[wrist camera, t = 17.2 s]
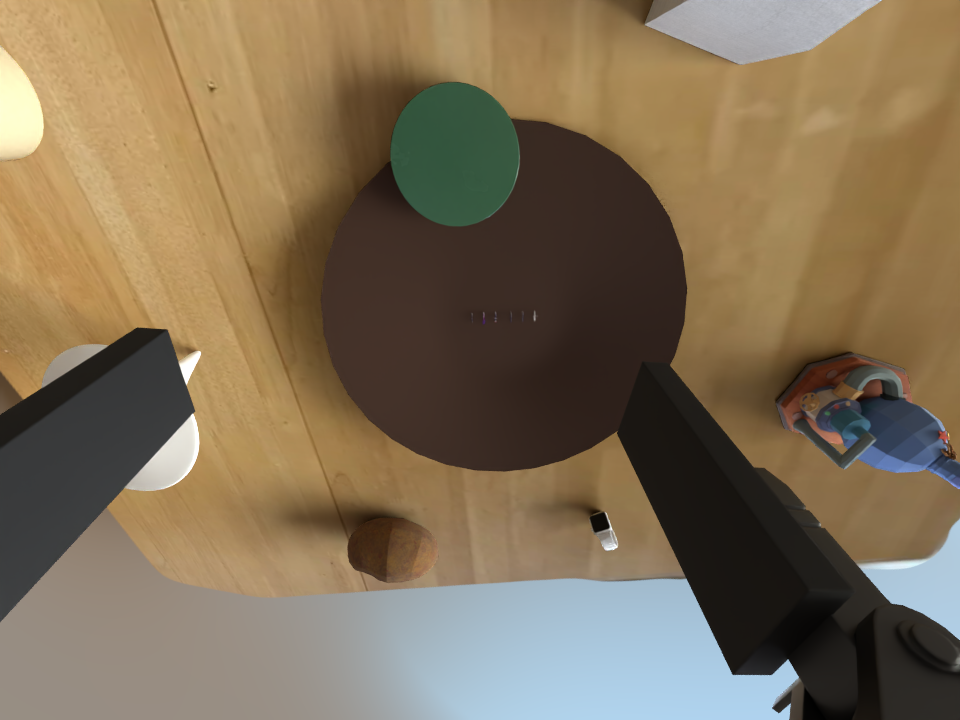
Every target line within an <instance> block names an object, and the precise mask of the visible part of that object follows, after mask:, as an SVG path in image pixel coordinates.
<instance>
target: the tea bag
mask: <svg viewBox="0 0 960 720" xmlns="http://www.w3.org/2000/svg"><path fill="white" fill-rule="evenodd" d="M880 1H882V0H654V1H653V3H652V6H651V8H650V11H649V14H648V16H647V19H646V21H645V24H644V25H645V26H648V27H650V28H653V29H655V30H658V31H660V32H662V33H665V34H667V35H670V36H672V37H674V38H677V39H679V40H682V41H684V42H686V43H689V44H691V45H694V46H696V47H698V48H701V49H703V50H706V51H708V52H710V53H713V54H715V55H718V56H720V57H722V58H725V59H727V60H730V61H732V62H735V63H737V64H739V65H743V64H748V63H753V62H757V61H762V60H766V59H771V58H776V57H780V56H785V55H790V54H794V53H799V52H804V51H808V50H811V49H812V48H814V47H815V46H817V45H818V44H820V43H821V42H822V41H824V40H825V39H827V38H828V37H829V36H831V35H832V34H834V33H835V32H837V31H838V30H839V29H841V28H842V27H844V26H845V25H846V24H848V23H849V22H851V21H852V20H854V19H855V18H856V17H858V16H859V15H861V14H862V13H863V12H865V11H866V10H868V9H869V8H871V7H872V6H874V5H876V4H877V3H879V2H880Z"/></svg>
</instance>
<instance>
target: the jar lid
mask: <svg viewBox="0 0 960 720" xmlns="http://www.w3.org/2000/svg"><path fill="white" fill-rule="evenodd" d="M390 157H391V166H392V171H393V175H394V178H395V181H396V183H397V185H398V187H399V189H400V191H401V193H402V195H403V196H404V198H405V199H406V200H407V202H408V203H409V204H410V205H411V206H412V207H413V208H414V209H415V210H416V211H417V212H418V213H420V214H421V215H422V216H424V217H426V218H427V219H429V220H431V221H434V222H436V223H439V224H442V225H447V226H467V225H471V224H475V223H478V222H480V221H482V220H484V219H486V218H488V217H489V216H491V215H492V214H493V213H495V212H496V211H497V210H498V209H499V208H500V207H501V206H502V205H503V203H504V202H505V201H506V200H507V198H508V196H509V195H510V193H511V191H512V189H513V187H514V184H515V182H516V178H517V175H518V169H519V160H520V153H519V143H518V138H517V134H516V131H515V128H514V126H513V123H512V121H511V119H510V117H509V116H508V114H507V112H506V111H505V110H504V108H503V107H502V106H501V105H500V103H499V102H498V101H497V100H495V99H494V98H493V97H492V96H491V95H489V94H488V93H487V92H485V91H484V90H482V89H480V88H478V87H475V86H472V85H469V84H466V83H460V82H447V83H440V84H437V85H434V86H431V87H429V88H427V89H425V90H423V91H422V92H420V93H419V94H417V95H416V96H415V97H414V98H413V99H412V100H411V101H409V103H408V104H407V105H406V106H405V108H404V109H403V110H402V112H401V114H400V116H399V117H398V119H397V122H396V124H395V127H394V130H393V134H392V139H391V146H390Z"/></svg>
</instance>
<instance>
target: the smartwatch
mask: <svg viewBox="0 0 960 720" xmlns="http://www.w3.org/2000/svg"><path fill="white" fill-rule="evenodd" d="M589 520H590V524H591V527H592V528H591V530H592V532H593V533H594V534H595V535H597V537H598V538H599V539H600V541H601V543H602V545H603V548H604V550H606V551H609V550H613V549H616V548H617V547H618V542H617V539H616V536H615V533H614V531H613V530H612V528H611V524H610V521H609V519H608V516H607V513H606V512H602V511H601V512H599V513H596V514H593V515H592V516H590V517H589Z"/></svg>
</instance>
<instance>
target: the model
mask: <svg viewBox="0 0 960 720" xmlns="http://www.w3.org/2000/svg"><path fill="white" fill-rule="evenodd" d="M776 405H777V408H778V411H779V414H780V417H781V420H782V423H783V426H784V428H785V429H787V430H790V431H793V432H796V433H799V434H803V435H805V436H806V437H807V438H808V439H809V440H810V441H811V442H813V443H814V444H815V445H816V446H817V447H818V448H819V449H820V450H821V451H822V452H823V453H825V454H826V455H827V456H828V457H829V458H830V459H831V460H832V461H833V462H835V463H836V464H837V465H838V466H839V467H841V468H843V469H846V468H847V467H849V466H850V465H851V464H852V463H853V462H854V461H855V460H856V459H859V460H861V461H863V462H865V463H866V464H868V465H870V466H872V467H874V468H878V469H882V470H887V471H891V472H895V473H897V472H918V471H921V470H924V469H926V470H929V471H931V473H935V474H937V475H939V476H940V477H942V478H943V479H944V480H947V481H949V482H950V483H951V484H952V485H953V486H955V487H957V488H959V489H960V463H959V462H957V461H955V460H956V459H957V454H956V453H955V452H954V451H953V446H952V445H951V444H949V439H950V438H949V434H948V431H947V433H946V431H945V429H944V427H943V424H942V422H941V421H940V420H939V419H937V418H936V417H935V416H934V415H933V414H931V413H930V412H929V411H928V410H927V409H925V408H922V407H920V406H918V405H915V404H913V403H912V397H911V392H910V386H909V379H908V376H907V375H906V372H905V369H903V368H900V367H897V366H894V365H891V364H887V363H884V362H881V361H878V360H874V359H871V358H868V357H864V356H861V355H858V354H854V353H848V354H845V355H842V356H838V357H835V358H832V359H828V360H824V361H820V362H816V363H811V364H808V365H807V366H806V367H805V369H804V370H803V371H802V372H801V373H800V375H799V376H798V377H797V378H796V380H795V381H794V382H793V383H792V384H791V385H790V387H789V388H788V389H787V390H786V391H785V392H784V393H783V395H782V396H781V397H780V398H779V399H778V400H777V401H776ZM828 442H830V443H836V444H843V443H844V446H845V447H846V448H847V449H848V450H847V451H846V452H845V453H844V454H843V455H842V454H840V453H839V452H838V451H837V450H836V449H835V448H834V447H833V446H831V445H830V444H829V443H828ZM949 447H950V448H949ZM947 449H948V450H947ZM950 449H951V450H950ZM952 455H954V456H952Z"/></svg>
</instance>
